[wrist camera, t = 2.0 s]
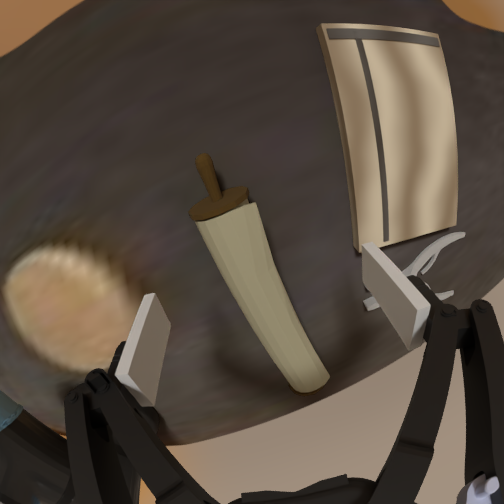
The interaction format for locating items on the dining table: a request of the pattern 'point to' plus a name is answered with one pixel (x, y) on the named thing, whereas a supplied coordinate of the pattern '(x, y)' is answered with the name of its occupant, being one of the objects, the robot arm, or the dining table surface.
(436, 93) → the marking board
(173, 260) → the dining table surface
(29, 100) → the dining table surface
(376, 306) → the pliers
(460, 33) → the dining table surface
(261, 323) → the rolling pin
